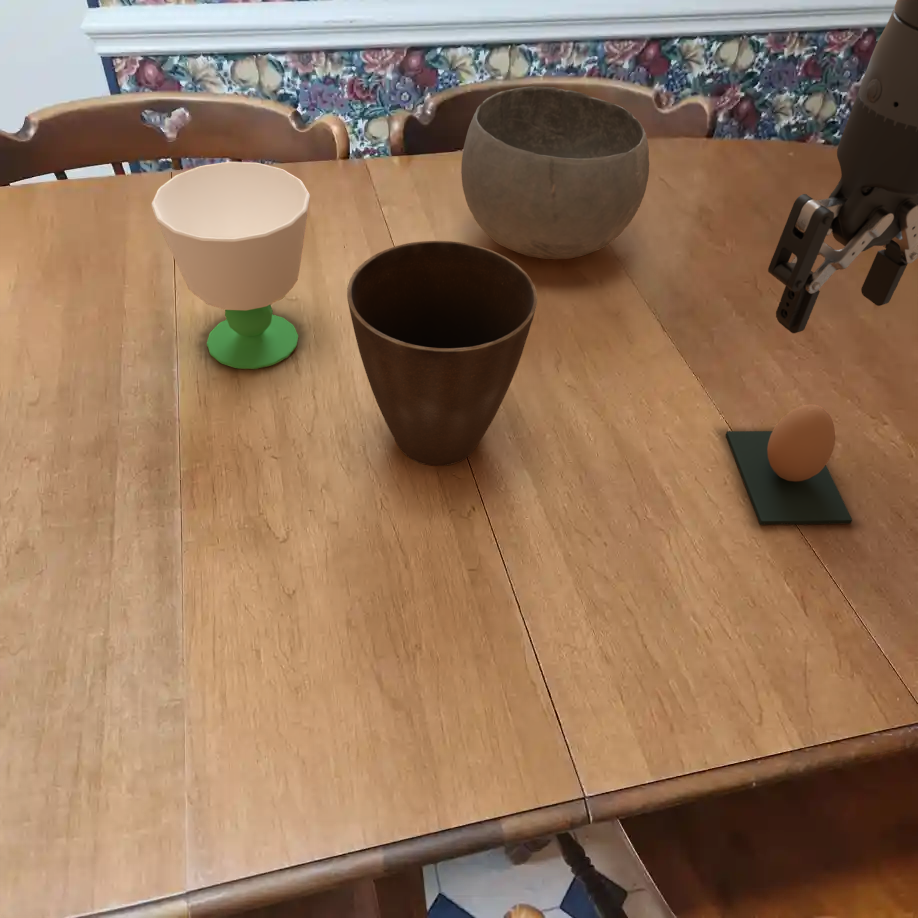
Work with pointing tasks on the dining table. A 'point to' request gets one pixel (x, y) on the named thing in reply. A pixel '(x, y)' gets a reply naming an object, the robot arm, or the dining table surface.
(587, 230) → the bowl
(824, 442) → the egg
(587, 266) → the dining table surface
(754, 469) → the mat
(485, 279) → the flower pot
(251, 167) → the cup
